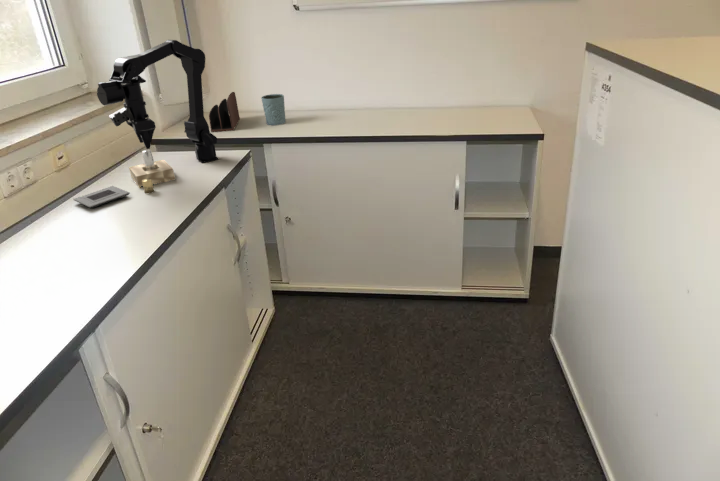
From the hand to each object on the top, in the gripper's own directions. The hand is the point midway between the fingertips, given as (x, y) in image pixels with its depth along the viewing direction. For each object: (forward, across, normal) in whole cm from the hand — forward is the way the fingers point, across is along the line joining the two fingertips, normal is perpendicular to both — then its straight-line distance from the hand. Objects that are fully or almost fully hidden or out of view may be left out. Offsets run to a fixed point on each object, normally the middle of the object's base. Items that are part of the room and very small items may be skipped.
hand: (145, 145), depth 181 cm
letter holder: (+12, -51, +45) cm, 69 cm away
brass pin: (+12, +12, -4) cm, 17 cm away
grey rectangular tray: (+13, +10, -18) cm, 24 cm away
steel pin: (+12, 0, 0) cm, 12 cm away
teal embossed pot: (+12, -39, +64) cm, 76 cm away
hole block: (+12, 0, 0) cm, 12 cm away
